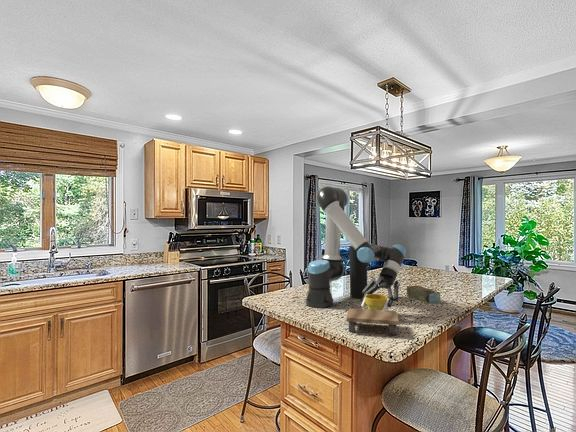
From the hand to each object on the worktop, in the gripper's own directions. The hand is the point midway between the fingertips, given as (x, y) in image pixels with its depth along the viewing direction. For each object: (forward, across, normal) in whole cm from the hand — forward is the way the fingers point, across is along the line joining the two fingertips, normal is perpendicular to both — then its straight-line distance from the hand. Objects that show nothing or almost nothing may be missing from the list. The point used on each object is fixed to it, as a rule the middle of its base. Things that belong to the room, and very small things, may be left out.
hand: (373, 309), depth 142 cm
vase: (-19, +29, -26) cm, 44 cm away
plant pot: (+1, 0, -5) cm, 5 cm away
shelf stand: (+11, -7, +5) cm, 14 cm away
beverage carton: (-33, -1, -40) cm, 51 cm away
